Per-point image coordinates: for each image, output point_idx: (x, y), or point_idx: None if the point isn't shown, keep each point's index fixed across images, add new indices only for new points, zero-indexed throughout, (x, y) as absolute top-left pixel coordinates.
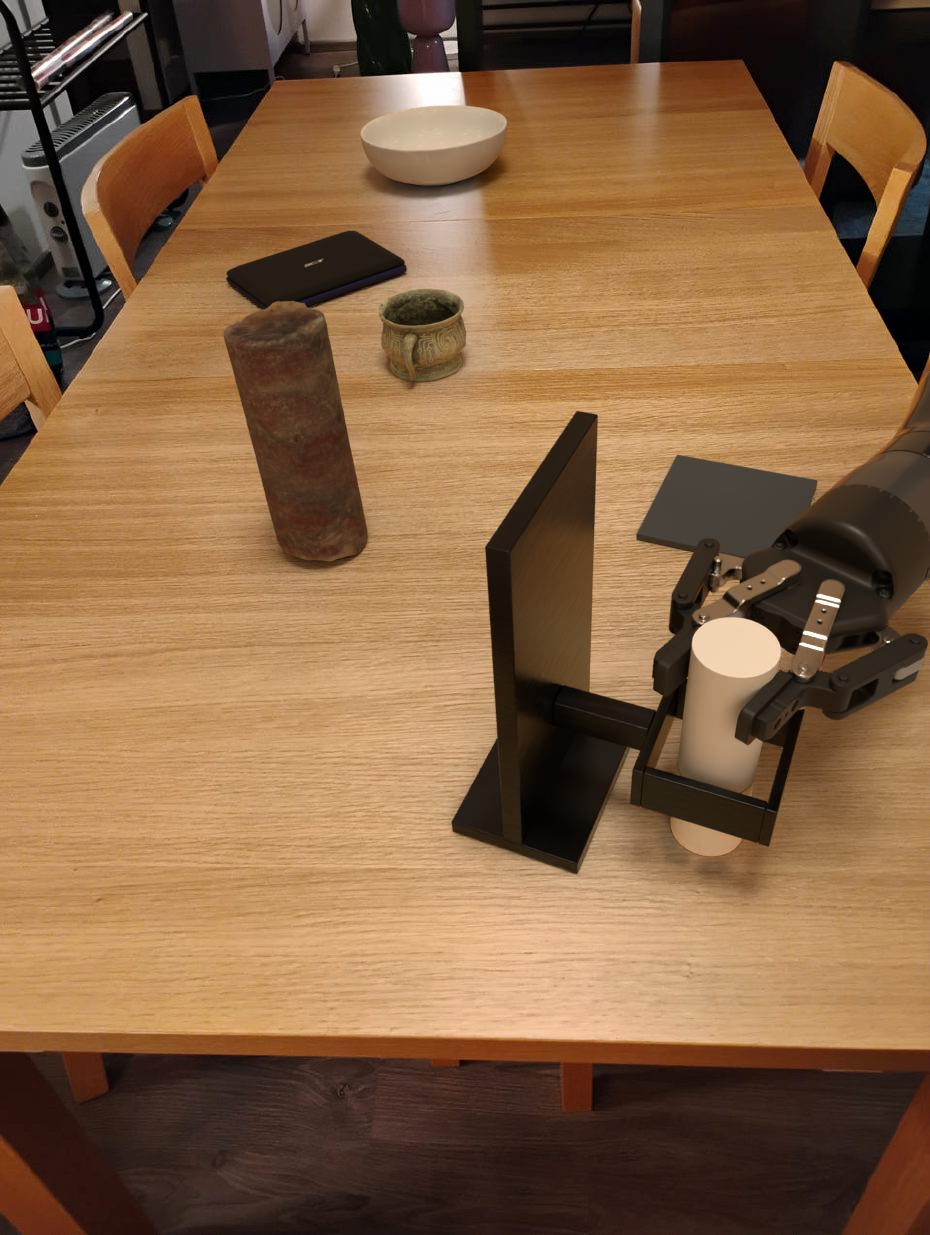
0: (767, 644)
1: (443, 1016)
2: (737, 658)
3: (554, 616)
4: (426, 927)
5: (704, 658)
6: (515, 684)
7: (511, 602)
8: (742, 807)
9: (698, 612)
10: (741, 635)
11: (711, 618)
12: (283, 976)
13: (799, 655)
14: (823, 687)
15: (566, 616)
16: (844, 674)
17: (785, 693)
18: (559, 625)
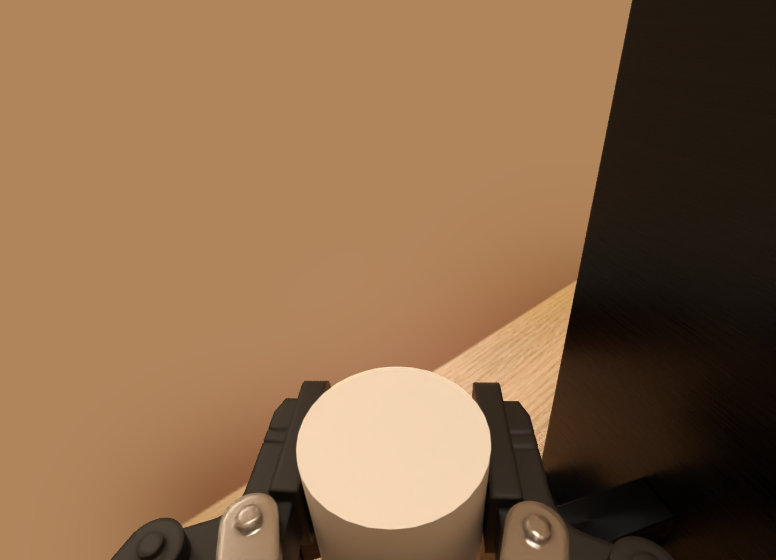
0: (336, 476)
1: (460, 362)
2: (372, 408)
3: (705, 344)
4: (526, 391)
5: (424, 379)
6: (582, 256)
7: (612, 106)
8: None
9: (558, 534)
10: (402, 467)
11: (518, 535)
12: (553, 327)
13: (268, 552)
14: (201, 526)
15: (746, 433)
16: (148, 550)
17: (274, 466)
18: (713, 396)
